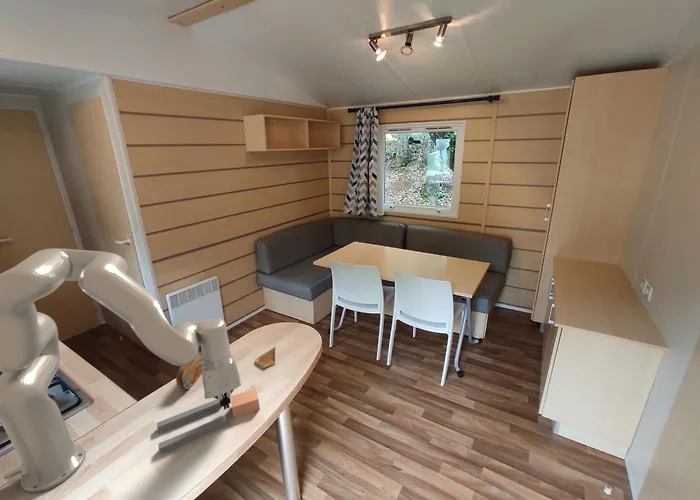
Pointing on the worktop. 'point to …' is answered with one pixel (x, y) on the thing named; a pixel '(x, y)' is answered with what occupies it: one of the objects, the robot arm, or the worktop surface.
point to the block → (245, 402)
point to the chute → (193, 433)
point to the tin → (189, 373)
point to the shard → (266, 359)
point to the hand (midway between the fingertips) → (225, 405)
